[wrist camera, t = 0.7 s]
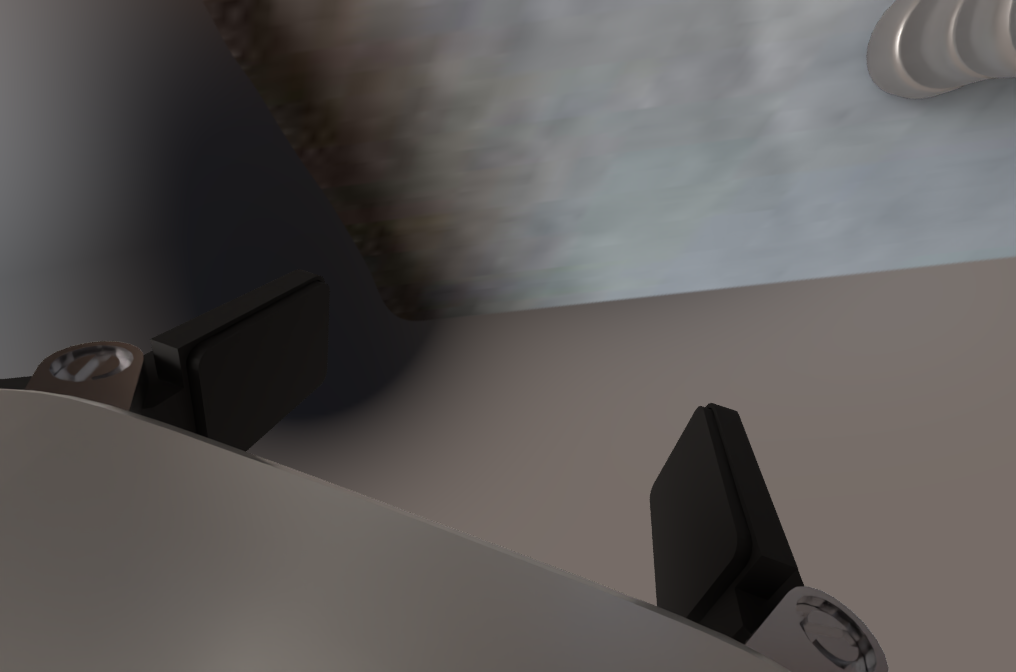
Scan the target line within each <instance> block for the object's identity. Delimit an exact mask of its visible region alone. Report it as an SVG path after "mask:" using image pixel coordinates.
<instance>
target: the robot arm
mask: <svg viewBox="0 0 1016 672" xmlns="http://www.w3.org/2000/svg"><path fill="white" fill-rule="evenodd" d="M329 293H330V291H329V286H328V285H327V284H325V281H324V279H323V277H321V276H319V275H316V274H312V273H310V272H307V271H304V270H300V269H298V270H295V271H293V272H291V273H289V274H287V275H284V276H282V277H280V278H278V279H276V280H274V281H272V282H270V283H268V284H266V285H263V286H261V287H259V288H257V289H255V290H253V291H251V292H249V293H247V294H244V295H242V296H240V297H238V298H236V299H234V300H232V301H230V302H228V303H225V304H223V305H221V306H219V307H217V308H215V309H213V310H211V311H209V312H207V313H204V314H202V315H200V316H198V317H196V318H194V319H192V320H190V321H188V322H185V323H183V324H181V325H180V326H177V327H175V328H173V329H171V330H169V331H167V332H164V333H163V334H160V335H158V336H156V337H154V338H152V339H150V340H151V345H152V350H153V351H151V352H150V353H147V354H145V355H143V352H142V351H141V350H140V349H139V348H138V347H136V346H133V345H131V344H127V343H123V342H117V341H116V342H115V341H98V342H89V343H84V344H79V345H75V346H70V347H68V348H65V349H62V350H59V351H57V352H55V353H53V354H52V355H50V356H48V357H46V358H45V359H44V360H43V361H42V362H41V363H40V364H39V365H38V367H37V369H36V371H35V372H34V374H33V376H30V377H21V378H11V379H10V378H9V379H0V672H888V665H887V661H886V658H885V654H884V652H883V650H882V649H881V647H880V645H879V643H878V641H877V639H876V638H875V637H874V635H873V634H872V633H871V632H870V630H869V629H868V628H867V626H866V625H865V624H864V622H862V620H860V619H859V618H858V617H857V616H856V615H855V614H854V613H853V612H852V611H851V610H850V609H849V608H847V607H846V606H845V605H843V604H842V603H841V602H840V601H838V600H837V599H835V598H834V597H832V596H830V595H828V594H826V593H825V592H823V591H821V590H818V589H814V588H811V587H806V586H804V584H803V582H802V579H801V576H800V574H799V571H798V567H797V565H796V562H795V560H794V557H793V554H792V552H791V549H790V547H789V544H788V541H787V539H786V536H785V533H784V531H783V529H782V526H781V523H780V520H779V518H778V515H777V513H776V510H775V508H774V505H773V502H772V500H771V497H770V494H769V492H768V489H767V487H766V484H765V481H764V479H763V476H762V474H761V471H760V469H759V466H758V463H757V461H756V458H755V456H754V453H753V450H752V448H751V445H750V443H749V440H748V437H747V435H746V432H745V429H744V427H743V424H742V422H741V419H740V416H739V414H738V412H737V411H734V410H732V409H729V408H726V407H722V406H719V405H716V404H713V403H710V404H708V405H707V406H706V407H702V406H699V407H698V408H697V409H696V410H695V412H694V414H693V416H692V418H691V419H690V421H689V423H688V424H687V426H686V428H685V430H684V432H683V433H682V435H681V437H680V439H679V440H678V442H677V444H676V446H675V448H674V449H673V451H672V453H671V454H670V456H669V458H668V460H667V462H666V463H665V465H664V467H663V469H662V470H661V472H660V474H659V476H658V477H657V479H656V481H655V483H654V485H653V487H652V490H651V494H650V509H651V524H652V539H653V553H654V567H655V582H656V597H657V606H654V605H652V604H649V603H647V602H645V601H642V600H639V599H637V598H634V597H632V596H629V595H627V594H624V593H622V592H619V591H617V590H614V589H611V588H609V587H606V586H604V585H601V584H599V583H596V582H593V581H591V580H588V579H586V578H583V577H580V576H578V575H575V574H573V573H570V572H567V571H565V570H562V569H559V568H556V567H554V566H551V565H548V564H546V563H543V562H541V561H538V560H536V559H533V558H530V557H527V556H525V555H522V554H520V553H517V552H514V551H512V550H509V549H507V548H504V547H501V546H499V545H496V544H493V543H491V542H488V541H485V540H483V539H480V538H477V537H474V536H472V535H469V534H467V533H464V532H462V531H459V530H456V529H453V528H451V527H448V526H445V525H443V524H440V523H437V522H435V521H432V520H429V519H427V518H424V517H421V516H419V515H416V514H413V513H411V512H408V511H405V510H403V509H400V508H397V507H395V506H392V505H389V504H386V503H383V502H381V501H378V500H376V499H373V498H370V497H368V496H365V495H362V494H360V493H357V492H354V491H351V490H349V489H346V488H343V487H341V486H338V485H335V484H332V483H330V482H327V481H324V480H321V479H319V478H316V477H313V476H311V475H308V474H305V473H302V472H300V471H297V470H294V469H292V468H289V467H286V466H283V465H281V464H278V463H275V462H272V461H270V460H267V459H264V458H262V457H259V456H256V455H253V454H251V453H248V452H246V451H247V450H248V449H249V448H250V447H251V446H252V445H254V443H256V442H257V441H258V440H259V439H260V438H262V436H264V435H265V434H266V433H267V432H268V431H269V430H270V429H272V428H273V427H274V426H275V425H276V424H277V423H278V422H279V421H281V420H282V419H283V418H284V417H285V416H286V415H287V414H288V413H290V412H291V411H292V410H293V409H294V408H295V407H296V406H297V405H299V404H300V403H301V402H302V401H303V400H304V399H305V398H306V397H307V396H308V395H310V394H311V393H312V392H313V391H314V390H315V389H316V388H318V387H319V386H320V385H321V384H322V382H323V381H324V379H325V377H326V373H327V355H328V354H327V353H328V325H329V324H328V323H329V295H330V294H329Z"/></svg>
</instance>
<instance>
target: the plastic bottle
mask: <svg viewBox="0 0 1016 672" xmlns="http://www.w3.org/2000/svg"><path fill="white" fill-rule="evenodd" d="M866 57H867V67H868V71H869V74H870V76H871V78H872V80H873V81H874V83H875V84H876V85H877V86H878V87H879V88H880V89H882V90H883V91H885V92H887V93H889V94H893V95H896V96H900V97H904V98H909V99H922V98H930V97H933V96H937V95H940V94H943V93H946V92H949V91H952V90H956V89H958V88H960V87H962V86H964V85H967V84H971V83H975V82H979V81H982V80H986V79H993V78H1011V77H1016V0H896V1H895V2H894V3H893V4H892V5H891V6H890V7H889V8H888V9H887V10H886V12H885V13H884V14H883V15H882V17H881V18H880V20H879V21H878V22H877V24H876V26H875V28H874V30H873V32H872V34H871V37H870V40H869V43H868V48H867V55H866Z"/></svg>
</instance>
